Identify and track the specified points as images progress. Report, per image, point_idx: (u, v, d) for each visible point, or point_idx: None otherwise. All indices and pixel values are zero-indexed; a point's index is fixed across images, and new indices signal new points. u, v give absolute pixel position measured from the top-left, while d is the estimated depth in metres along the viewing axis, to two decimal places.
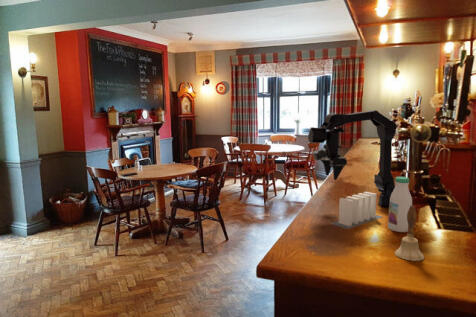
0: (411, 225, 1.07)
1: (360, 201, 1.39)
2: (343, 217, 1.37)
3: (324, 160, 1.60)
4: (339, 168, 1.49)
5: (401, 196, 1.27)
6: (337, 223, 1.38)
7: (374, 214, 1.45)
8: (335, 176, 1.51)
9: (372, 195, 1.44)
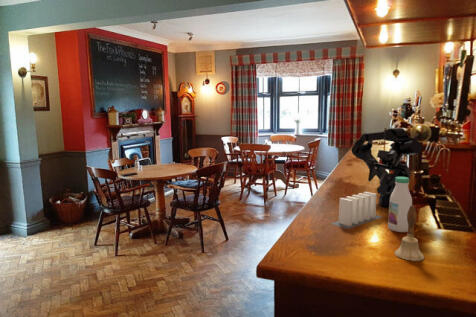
0: (411, 225, 1.07)
1: (360, 201, 1.39)
2: (343, 217, 1.37)
3: (373, 166, 1.55)
4: None
5: (401, 196, 1.28)
6: (337, 223, 1.38)
7: (374, 214, 1.45)
8: (391, 182, 1.45)
9: (372, 195, 1.44)
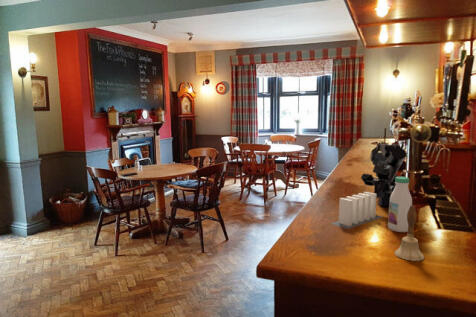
0: (411, 225, 1.07)
1: (360, 201, 1.39)
2: (343, 217, 1.37)
3: (378, 183, 1.50)
4: (384, 190, 1.49)
5: (401, 196, 1.28)
6: (337, 223, 1.38)
7: (374, 214, 1.45)
8: (378, 195, 1.48)
9: (372, 195, 1.44)
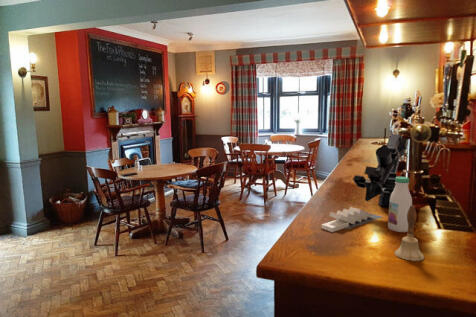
0: (411, 225, 1.07)
1: None
2: None
3: (370, 185, 1.47)
4: (376, 192, 1.45)
5: (401, 196, 1.28)
6: None
7: (371, 215, 1.43)
8: (369, 197, 1.44)
9: None
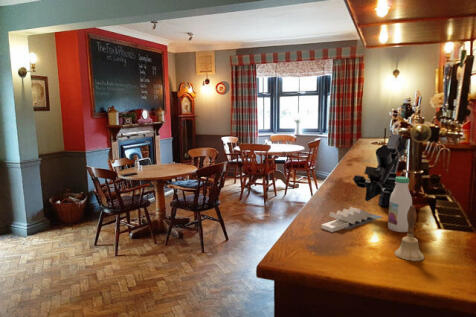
0: (411, 225, 1.07)
1: None
2: None
3: (370, 185, 1.47)
4: (376, 192, 1.45)
5: (401, 196, 1.28)
6: None
7: (371, 215, 1.43)
8: (369, 197, 1.44)
9: None
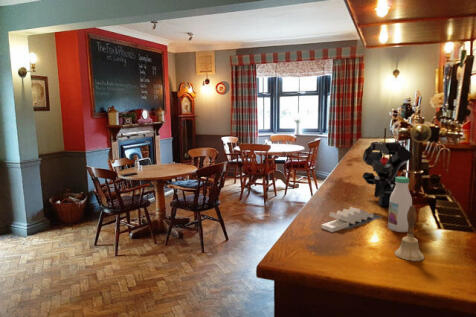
0: (411, 225, 1.07)
1: None
2: None
3: (379, 181, 1.51)
4: (385, 189, 1.50)
5: (401, 196, 1.28)
6: None
7: (371, 215, 1.43)
8: (378, 193, 1.49)
9: None
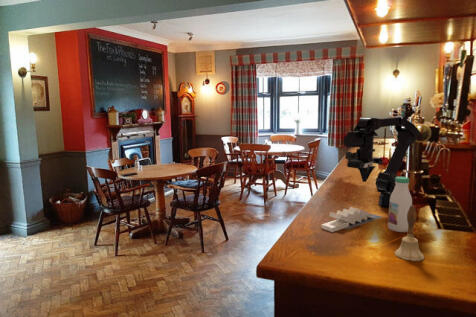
0: (411, 225, 1.07)
1: None
2: None
3: None
4: (364, 170, 1.52)
5: (401, 196, 1.27)
6: None
7: (371, 215, 1.43)
8: (362, 178, 1.54)
9: None
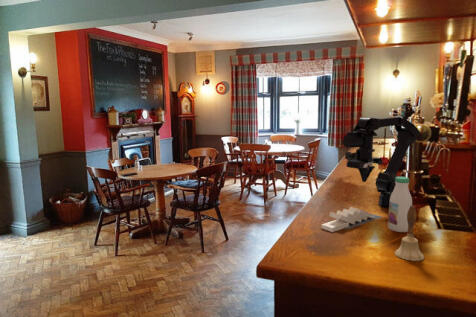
0: (411, 225, 1.07)
1: None
2: None
3: None
4: (364, 171, 1.52)
5: (401, 196, 1.27)
6: None
7: (371, 215, 1.43)
8: (362, 178, 1.54)
9: None
